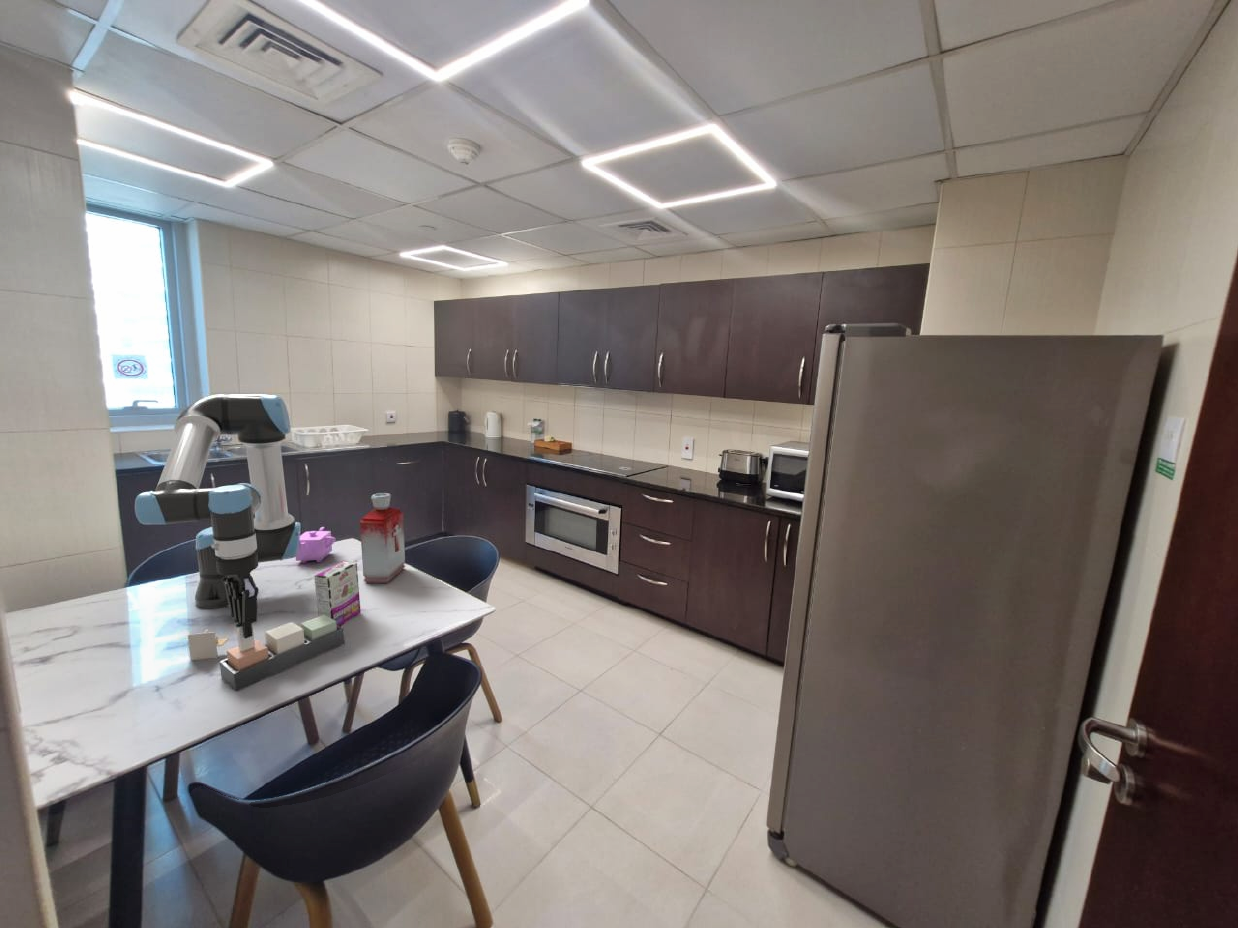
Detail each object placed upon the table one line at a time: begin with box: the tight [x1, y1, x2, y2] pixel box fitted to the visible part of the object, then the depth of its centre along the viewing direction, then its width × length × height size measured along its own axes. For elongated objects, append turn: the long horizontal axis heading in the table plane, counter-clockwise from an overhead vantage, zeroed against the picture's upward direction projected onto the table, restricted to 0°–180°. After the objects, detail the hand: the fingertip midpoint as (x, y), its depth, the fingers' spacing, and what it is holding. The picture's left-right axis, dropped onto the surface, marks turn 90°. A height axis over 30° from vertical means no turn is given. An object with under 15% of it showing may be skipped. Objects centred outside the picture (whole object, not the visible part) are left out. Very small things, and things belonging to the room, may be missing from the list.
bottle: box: [359, 492, 406, 585], centre depth 172 cm, size 14×10×30 cm
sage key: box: [300, 615, 337, 641], centre depth 129 cm, size 6×6×5 cm
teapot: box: [295, 526, 336, 564], centre depth 186 cm, size 15×13×11 cm
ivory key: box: [264, 621, 304, 655], centre depth 122 cm, size 6×6×5 cm
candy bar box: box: [314, 560, 361, 627], centre depth 141 cm, size 11×5×16 cm, turn 168°
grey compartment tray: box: [219, 625, 346, 692], centre depth 123 cm, size 8×25×4 cm, turn 147°
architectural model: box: [187, 629, 229, 661], centre depth 124 cm, size 3×7×7 cm, turn 107°
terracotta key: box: [226, 639, 269, 671], centre depth 116 cm, size 6×6×5 cm
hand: (247, 648), depth 115 cm, fingers closed
